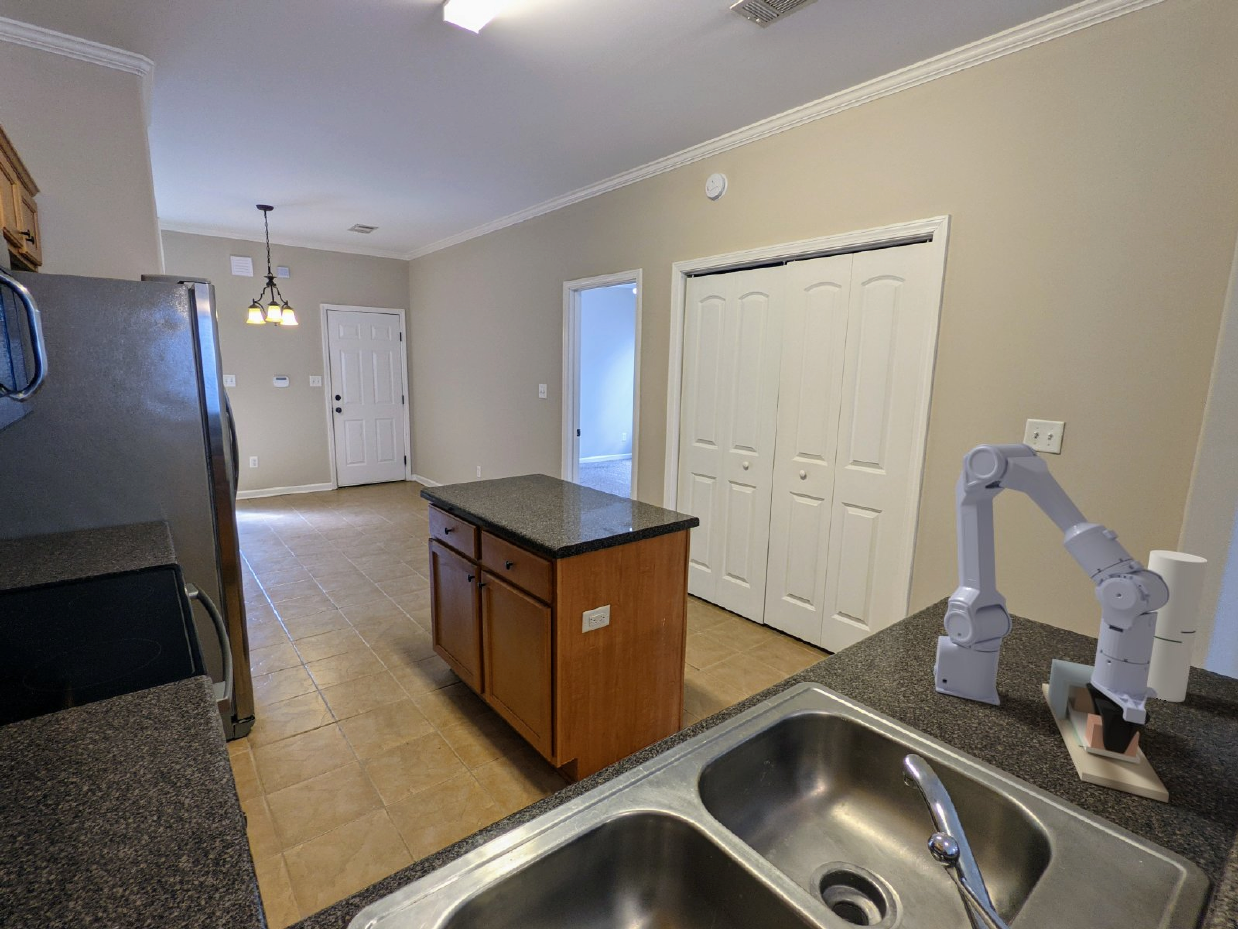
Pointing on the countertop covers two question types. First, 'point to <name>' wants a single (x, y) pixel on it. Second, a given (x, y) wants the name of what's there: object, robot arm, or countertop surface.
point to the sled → (1093, 726)
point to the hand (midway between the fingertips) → (1110, 744)
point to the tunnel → (1066, 682)
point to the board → (1109, 764)
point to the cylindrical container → (1175, 622)
